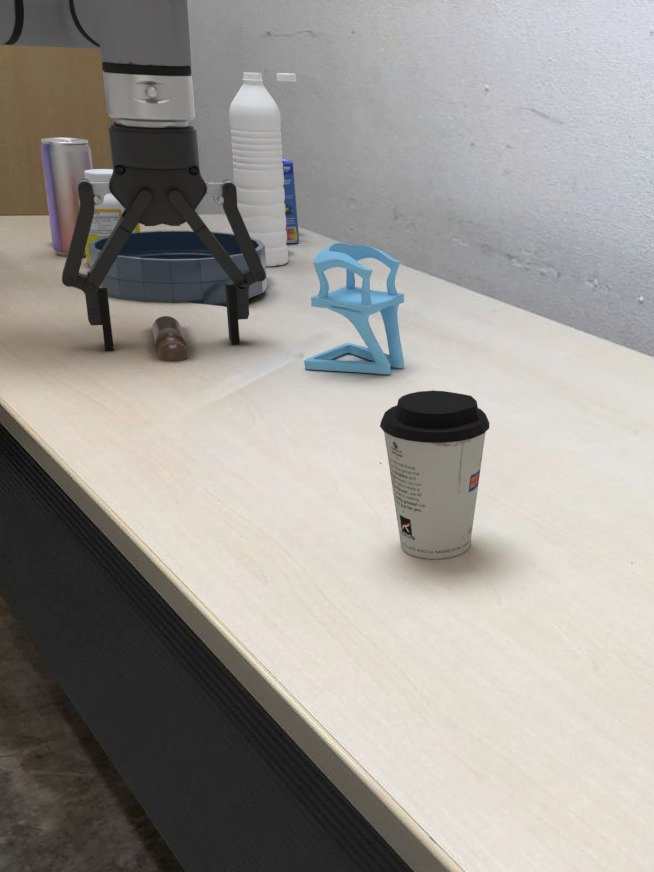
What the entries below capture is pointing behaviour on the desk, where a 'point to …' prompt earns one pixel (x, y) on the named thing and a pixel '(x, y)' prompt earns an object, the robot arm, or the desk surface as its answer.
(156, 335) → the chocolate candy
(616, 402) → the desk surface
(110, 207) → the supplement bottle
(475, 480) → the coffee cup
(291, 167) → the ink cartridge box
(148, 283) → the bowl
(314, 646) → the desk surface
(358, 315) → the chair
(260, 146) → the water bottle
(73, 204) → the beverage can
